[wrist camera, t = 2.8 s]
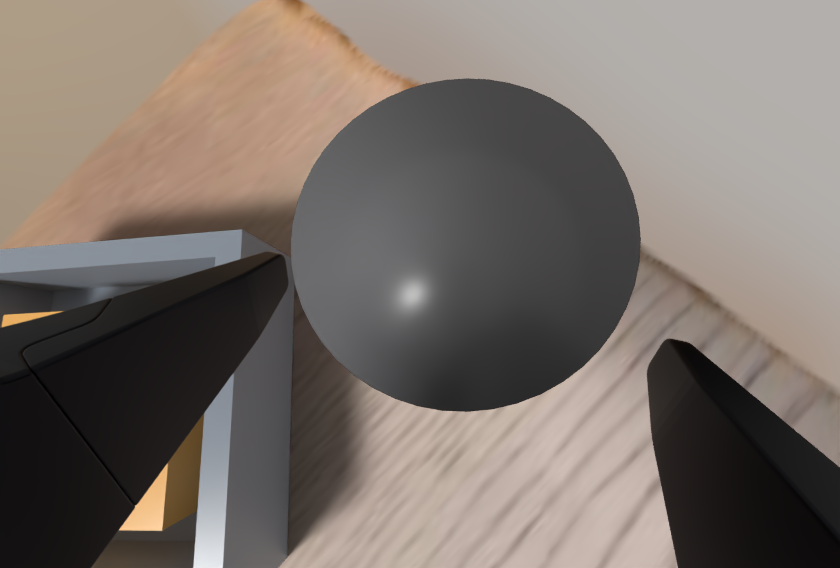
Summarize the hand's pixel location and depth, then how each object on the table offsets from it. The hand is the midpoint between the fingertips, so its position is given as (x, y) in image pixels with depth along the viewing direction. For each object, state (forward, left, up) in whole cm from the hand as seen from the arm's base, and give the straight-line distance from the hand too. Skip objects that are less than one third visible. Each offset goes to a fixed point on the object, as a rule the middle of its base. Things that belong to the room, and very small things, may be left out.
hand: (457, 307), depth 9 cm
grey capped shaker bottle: (0, 0, -8) cm, 8 cm away
